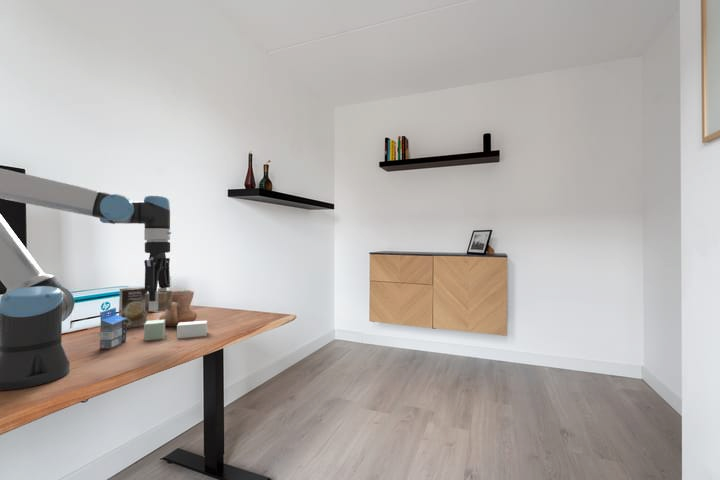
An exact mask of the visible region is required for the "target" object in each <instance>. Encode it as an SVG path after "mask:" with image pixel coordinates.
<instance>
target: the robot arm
mask: <svg viewBox="0 0 720 480" xmlns="http://www.w3.org/2000/svg"><path fill="white" fill-rule="evenodd" d="M143 198H144V199H143V200H142V201H141V200H140V201H139V200H138V201H137V200H135V201H134V200H131V199H130V198H128V197H126V196H125V195H122V194H117V193H116V194H113V193H108V192H103V191H100V190H96V189H90V188H87V187H83V186H79V185H74V184H69V183H66V182H61V181H56V180H52V179H49V178H48V179H47V178H44V177H40V176H35V175H31V174H27V173H22V172H17V171H14V170H10V169H4V168H0V199H2V200H7V201H11V202H12V201H13V202H17V203H22V204H27V205H31V206H36V207H43V208H49V209H53V210H57V211H63V212H68V213H74V214H79V215H84V216H89V217H93V218H97V219H99V221H100V222H101V223H103V224H112V225H115V224H125V225H126V224H138V225H140V224H144V229H143V230H144V241H145V243H144V253H146V254H149V257H148V259H144V267H145V268H144V288H145V291H147V292H148V293H149V311H155V312H159V311H158V291H168V288H170V287H171V281H170V280H171V278H170V277H171V275H170V262H171V261H170V259H171V258H170V257H166V254H167V253H170V252H171V242H170V240H171V234H172V232H171V207H170V206H171V205H170V199H169V198H168V197H166V196H162V195H145V196H144V197H143ZM0 282H1V283H2V284H3V285H4V287H5V288H6V292H5V293H4V294H2V295H1V296H0V391H14V390H19V389H21V390H22V389H26V388H30V387H31V388H32V387H36V386H40V385H43V384H47V383H49V382H53V381H56V380H58V379H60V378H63V377H64V376H66V375H68V374H69V372H70V371H71V370H70V368H71V367H70V361H69V359H68V356H67V354H66V352H65V349H64V347H63V344H62V337H63V336H62V335H63V333H62V332H63V331H62V330H63V329H62V328H63V327H62V326H63V322H64V321H66V319H68V318H69V316H71V314H72V312H73V311H74V308H75V301H76V300H75V297H74V295H73V293H72V292H71V291H70V290H68V288H66V287H64V286H62V284H61V283H60V282H59V280H58V279H57V278H56V276H55V275H54V274H49V273H45V272H44V271H43V270H42V268H41V267H40V266H39V264H38V263H37V262H36V260H35V259H34V257H33V256H32V254H31V253H30V252H29V251H28V249H27V248H26V246H25V245H24V244H23V243H22V241H21V240H20V238H18V236H17V234H16V233H15V232H14V230H13V229H12V228H11V227H10V225H9V223H8V222H7V221H6V220H5V218H4V217H3V215H2V214H1V213H0ZM158 287H159V288H158Z"/></svg>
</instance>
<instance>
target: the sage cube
mask: <svg viewBox="0 0 720 480" xmlns="http://www.w3.org/2000/svg"><path fill="white" fill-rule="evenodd" d="M143 332H144V333H143V341H154V340H163V339H164V338H165V335H166V325H165V319H164V320H159V319H154V320H146V323H145V324H144V326H143Z"/></svg>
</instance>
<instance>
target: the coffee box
mask: <svg viewBox="0 0 720 480" xmlns="http://www.w3.org/2000/svg"><path fill="white" fill-rule="evenodd" d="M146 293H148V291H145V286H144V287H142V286H141V287H129V288H128V287H127V288H119V297H118V298H119V302H118V303H119V304H118V316H121V317H123V318H126V329H130V328H131V327H132V328H138V326H139V327H144V324H145V323H146V322H147V315H148V314H147V313H148V312H145V294H146ZM132 328H131V329H132Z"/></svg>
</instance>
